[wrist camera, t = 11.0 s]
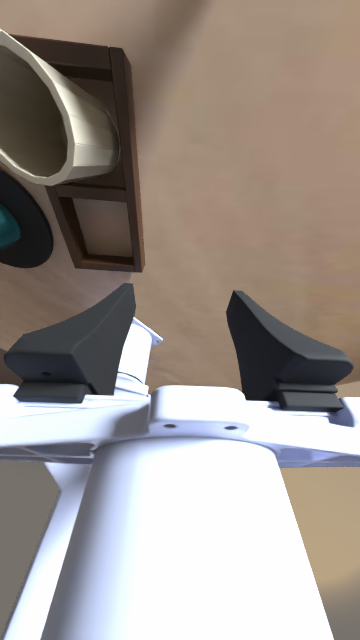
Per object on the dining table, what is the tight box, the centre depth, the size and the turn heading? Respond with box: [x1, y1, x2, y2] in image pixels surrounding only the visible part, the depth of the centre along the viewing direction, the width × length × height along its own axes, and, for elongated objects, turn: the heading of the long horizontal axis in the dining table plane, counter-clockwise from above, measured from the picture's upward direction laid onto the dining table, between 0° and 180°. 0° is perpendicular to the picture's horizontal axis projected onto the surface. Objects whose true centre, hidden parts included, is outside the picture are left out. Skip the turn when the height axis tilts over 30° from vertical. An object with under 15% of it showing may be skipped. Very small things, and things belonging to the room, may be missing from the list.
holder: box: [8, 34, 145, 273], centre depth 15 cm, size 7×14×2 cm, turn 176°
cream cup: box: [0, 29, 119, 186], centre depth 11 cm, size 4×4×8 cm
